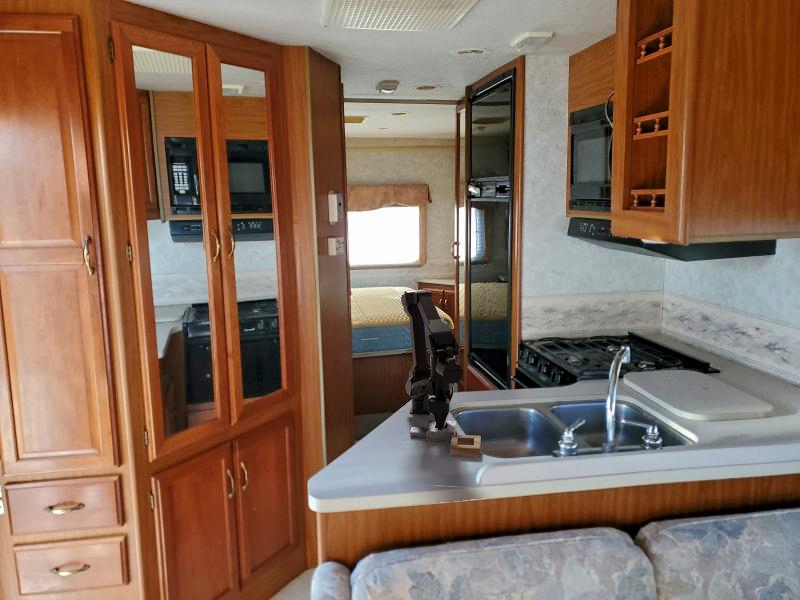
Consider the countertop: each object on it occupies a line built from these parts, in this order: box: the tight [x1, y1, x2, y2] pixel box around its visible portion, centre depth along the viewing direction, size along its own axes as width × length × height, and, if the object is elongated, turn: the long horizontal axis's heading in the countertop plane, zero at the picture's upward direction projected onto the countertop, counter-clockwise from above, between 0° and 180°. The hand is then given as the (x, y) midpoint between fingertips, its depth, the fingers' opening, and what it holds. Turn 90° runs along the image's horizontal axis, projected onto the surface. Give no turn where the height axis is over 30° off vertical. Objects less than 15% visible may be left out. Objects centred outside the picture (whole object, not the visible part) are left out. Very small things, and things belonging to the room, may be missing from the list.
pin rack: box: [449, 434, 482, 458], centre depth 168 cm, size 8×8×2 cm
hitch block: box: [409, 419, 457, 443], centre depth 177 cm, size 8×13×3 cm, turn 81°
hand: (441, 423), depth 176 cm, fingers open, 9 cm apart
